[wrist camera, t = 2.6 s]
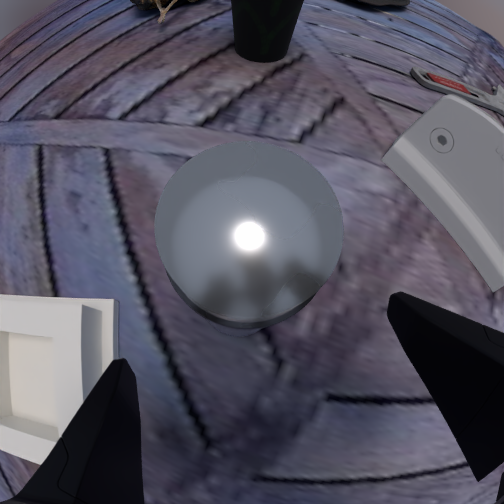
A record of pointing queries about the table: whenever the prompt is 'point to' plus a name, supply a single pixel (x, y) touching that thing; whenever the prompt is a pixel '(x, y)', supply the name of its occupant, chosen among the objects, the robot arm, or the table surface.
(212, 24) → the table surface
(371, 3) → the casserole
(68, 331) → the white square hollow block
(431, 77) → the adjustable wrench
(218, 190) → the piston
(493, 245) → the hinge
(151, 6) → the seed pod
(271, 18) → the cup
